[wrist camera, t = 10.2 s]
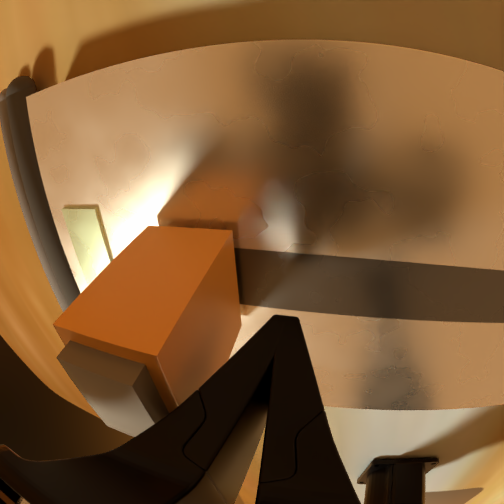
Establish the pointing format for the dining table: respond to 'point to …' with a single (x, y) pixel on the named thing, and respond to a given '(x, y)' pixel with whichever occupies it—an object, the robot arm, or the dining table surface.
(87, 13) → the dining table surface
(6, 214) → the dining table surface
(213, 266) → the block
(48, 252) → the cord
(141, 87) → the faceplate
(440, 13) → the dining table surface
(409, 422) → the dining table surface
